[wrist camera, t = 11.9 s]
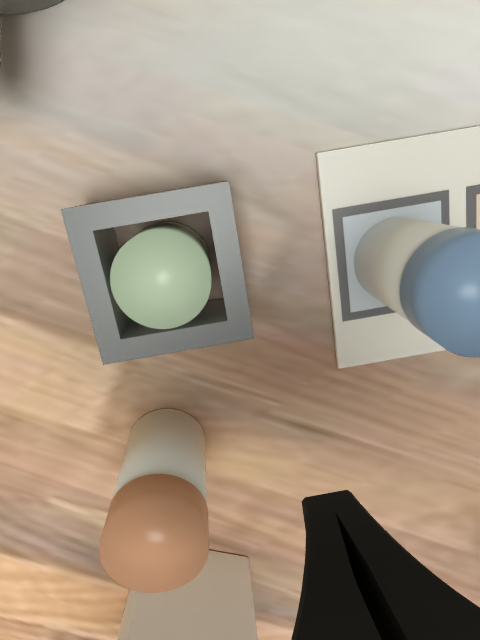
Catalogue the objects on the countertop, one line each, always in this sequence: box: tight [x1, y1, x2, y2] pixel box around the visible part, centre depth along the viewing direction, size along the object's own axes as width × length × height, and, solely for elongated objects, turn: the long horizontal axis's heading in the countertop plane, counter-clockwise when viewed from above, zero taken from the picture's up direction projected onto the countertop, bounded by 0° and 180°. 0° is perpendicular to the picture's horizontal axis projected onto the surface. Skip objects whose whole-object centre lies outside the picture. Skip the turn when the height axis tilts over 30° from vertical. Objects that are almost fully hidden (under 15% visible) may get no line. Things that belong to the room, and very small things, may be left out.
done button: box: [110, 222, 211, 329], centre depth 18 cm, size 4×4×4 cm
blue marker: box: [354, 216, 480, 357], centre depth 17 cm, size 4×4×7 cm
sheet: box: [316, 126, 480, 369], centre depth 21 cm, size 10×12×1 cm
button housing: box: [61, 181, 254, 365], centre depth 19 cm, size 6×6×4 cm
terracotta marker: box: [99, 409, 209, 593], centre depth 20 cm, size 4×4×7 cm
